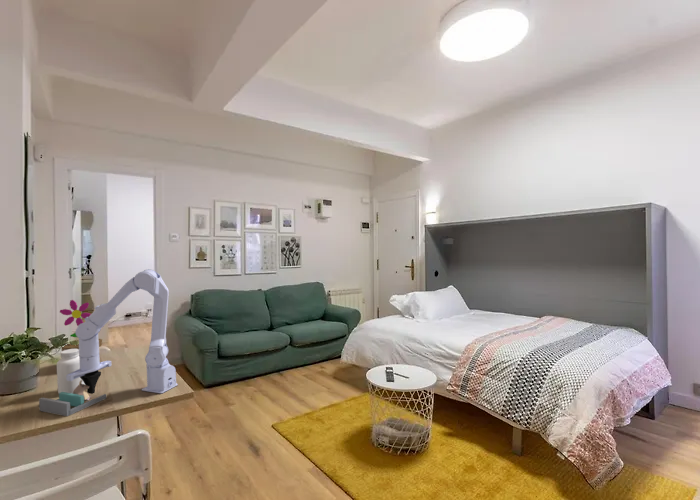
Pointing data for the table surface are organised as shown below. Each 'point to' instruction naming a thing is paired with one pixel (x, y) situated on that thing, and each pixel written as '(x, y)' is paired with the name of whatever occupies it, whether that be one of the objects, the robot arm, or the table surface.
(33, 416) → the table surface
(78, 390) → the mouse figurine
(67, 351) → the pill bottle
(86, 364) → the robot arm
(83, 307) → the flowerpot
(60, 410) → the tray
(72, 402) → the block
